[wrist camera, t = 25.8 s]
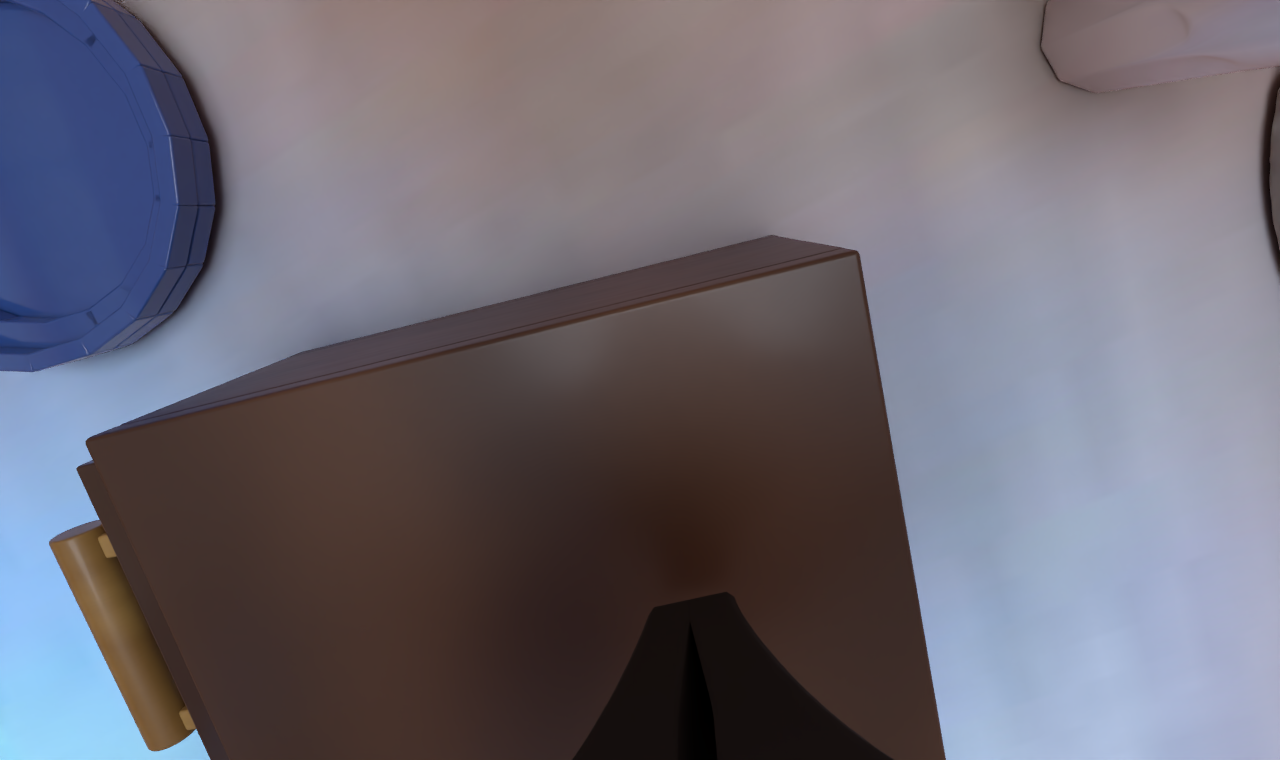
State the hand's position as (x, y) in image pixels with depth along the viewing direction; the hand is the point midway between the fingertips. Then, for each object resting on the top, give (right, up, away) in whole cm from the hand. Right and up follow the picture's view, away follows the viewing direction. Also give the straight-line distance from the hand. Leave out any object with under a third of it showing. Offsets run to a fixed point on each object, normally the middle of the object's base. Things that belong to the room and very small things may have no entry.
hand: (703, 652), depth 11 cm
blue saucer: (-18, +10, +8) cm, 22 cm away
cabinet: (-3, +2, +10) cm, 10 cm away
